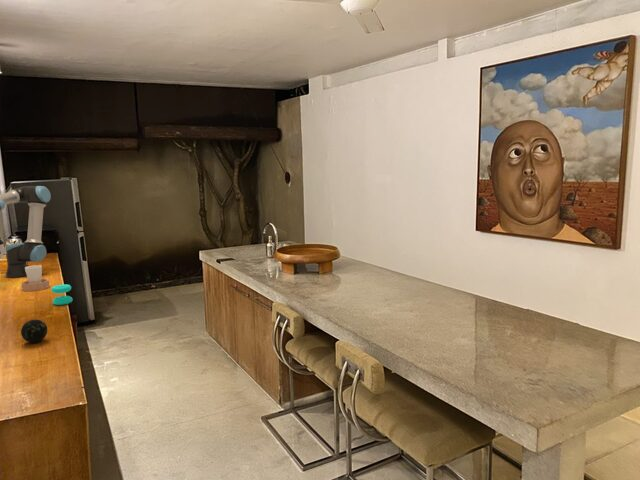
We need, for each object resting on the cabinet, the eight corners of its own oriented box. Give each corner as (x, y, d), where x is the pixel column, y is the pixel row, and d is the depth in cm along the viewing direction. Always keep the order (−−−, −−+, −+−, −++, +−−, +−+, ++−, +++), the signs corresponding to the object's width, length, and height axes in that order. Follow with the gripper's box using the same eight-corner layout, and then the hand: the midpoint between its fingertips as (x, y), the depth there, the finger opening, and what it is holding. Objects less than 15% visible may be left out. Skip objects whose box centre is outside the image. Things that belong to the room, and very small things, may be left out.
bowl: (24, 287, 318) (23, 280, 317) (50, 284, 324) (49, 277, 323) (20, 292, 304) (20, 285, 304) (48, 289, 310) (47, 282, 310)
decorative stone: (53, 337, 222) (50, 316, 220) (41, 345, 212) (38, 323, 210) (30, 338, 221) (27, 316, 220) (17, 346, 211) (14, 324, 210)
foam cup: (47, 284, 318) (45, 265, 316) (38, 288, 309) (35, 268, 307) (33, 285, 319) (31, 265, 317) (23, 288, 310) (21, 268, 308)
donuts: (72, 283, 283) (68, 287, 273) (74, 300, 284) (70, 304, 275) (53, 284, 280) (48, 288, 270) (55, 301, 282) (50, 306, 272)
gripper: (-15, 224, 319) (-1, 254, 325) (-22, 230, 297) (-6, 262, 303) (-2, 220, 322) (11, 250, 328) (-8, 226, 300) (7, 258, 306)
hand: (3, 256), depth 316 cm, fingers open, 13 cm apart
